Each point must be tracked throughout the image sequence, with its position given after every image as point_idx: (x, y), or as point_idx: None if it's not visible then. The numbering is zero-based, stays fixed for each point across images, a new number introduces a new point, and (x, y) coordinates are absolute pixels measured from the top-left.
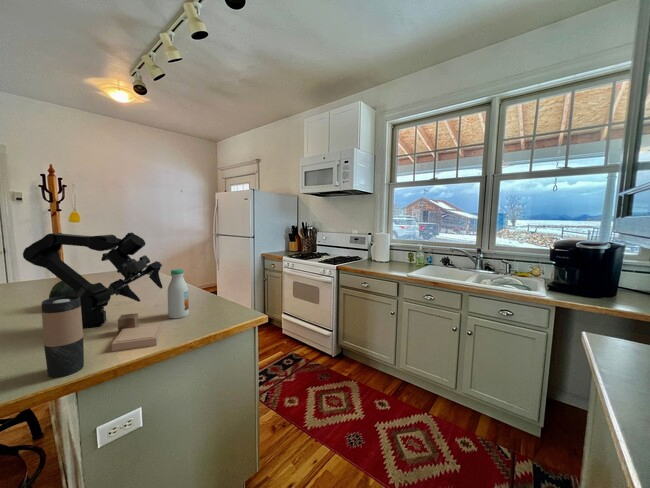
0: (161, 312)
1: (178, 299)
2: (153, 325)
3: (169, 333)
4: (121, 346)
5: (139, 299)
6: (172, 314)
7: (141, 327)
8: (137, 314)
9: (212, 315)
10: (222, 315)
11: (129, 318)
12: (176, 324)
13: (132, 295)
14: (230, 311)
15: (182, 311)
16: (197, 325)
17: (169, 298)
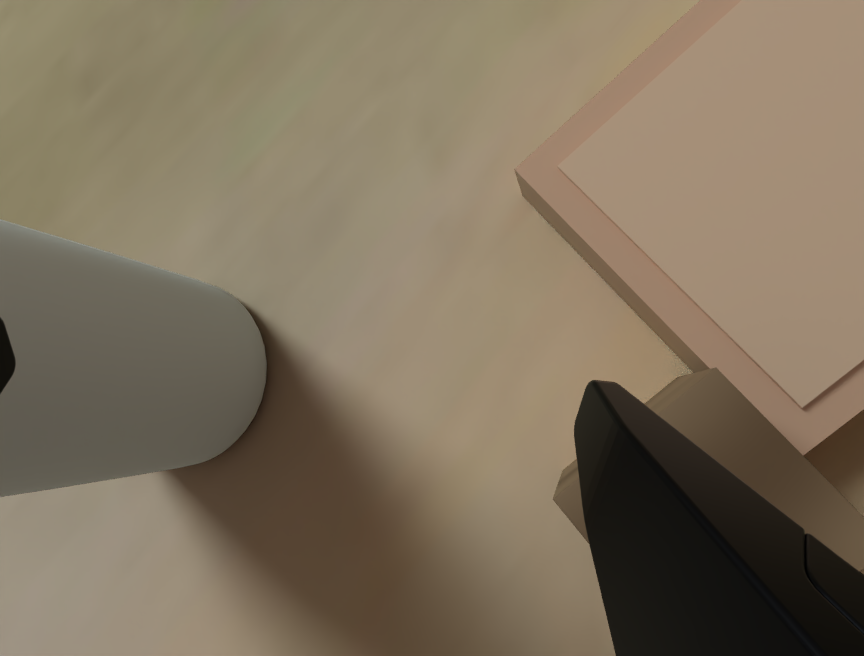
0: (170, 613)
1: (81, 259)
2: (571, 224)
3: (540, 90)
4: None
5: (609, 389)
6: (244, 352)
7: (682, 274)
8: (576, 478)
9: (117, 103)
10: (98, 33)
11: (765, 417)
12: (362, 210)
13: (777, 510)
14: (16, 47)
15: (181, 275)
16: (322, 31)
17: (94, 380)
